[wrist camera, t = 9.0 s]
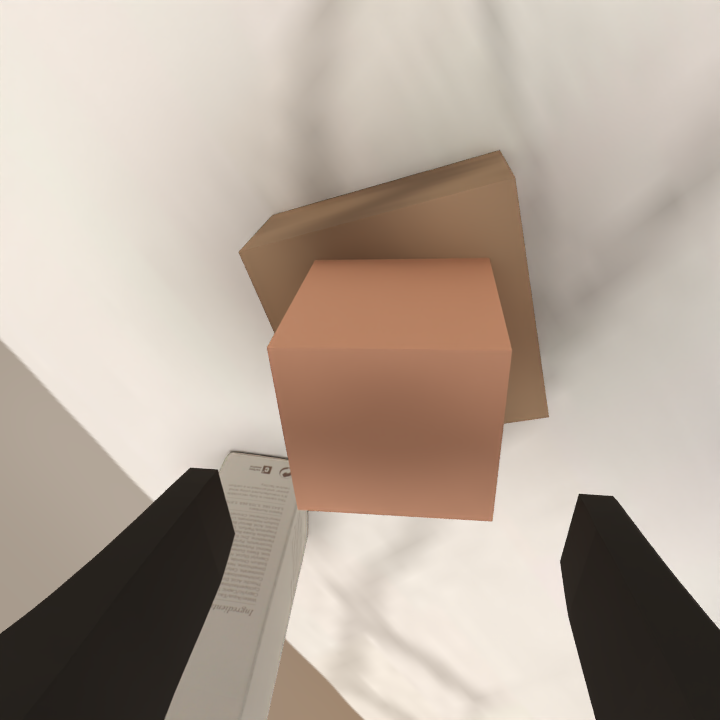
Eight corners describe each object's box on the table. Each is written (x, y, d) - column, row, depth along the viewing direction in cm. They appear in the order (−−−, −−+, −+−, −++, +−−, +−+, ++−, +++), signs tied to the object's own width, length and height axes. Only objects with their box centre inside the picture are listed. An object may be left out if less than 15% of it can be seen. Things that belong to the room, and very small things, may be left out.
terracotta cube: (489, 257, 14) (512, 350, 10) (478, 400, 17) (492, 521, 12) (314, 260, 15) (267, 347, 10) (330, 396, 17) (297, 509, 13)
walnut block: (498, 148, 16) (514, 177, 13) (530, 353, 20) (548, 417, 17) (275, 212, 18) (238, 251, 15) (342, 387, 22) (326, 449, 19)
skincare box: (225, 448, 25) (79, 733, 15) (314, 460, 24) (227, 761, 14) (236, 529, 28) (123, 805, 18) (314, 540, 28) (244, 829, 18)
